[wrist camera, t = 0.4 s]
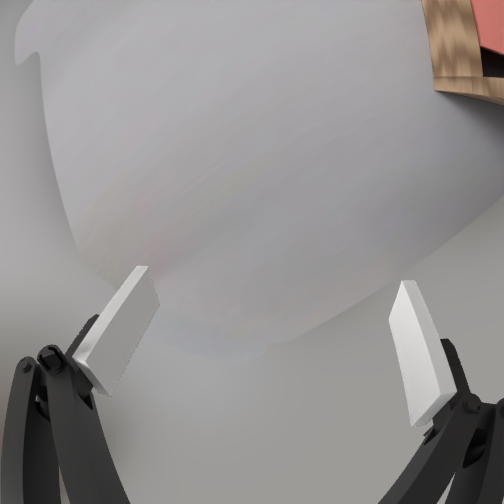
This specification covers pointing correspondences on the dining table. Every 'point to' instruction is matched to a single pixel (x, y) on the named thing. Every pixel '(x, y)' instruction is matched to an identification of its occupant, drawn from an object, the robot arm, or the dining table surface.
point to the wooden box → (458, 51)
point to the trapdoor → (489, 24)
